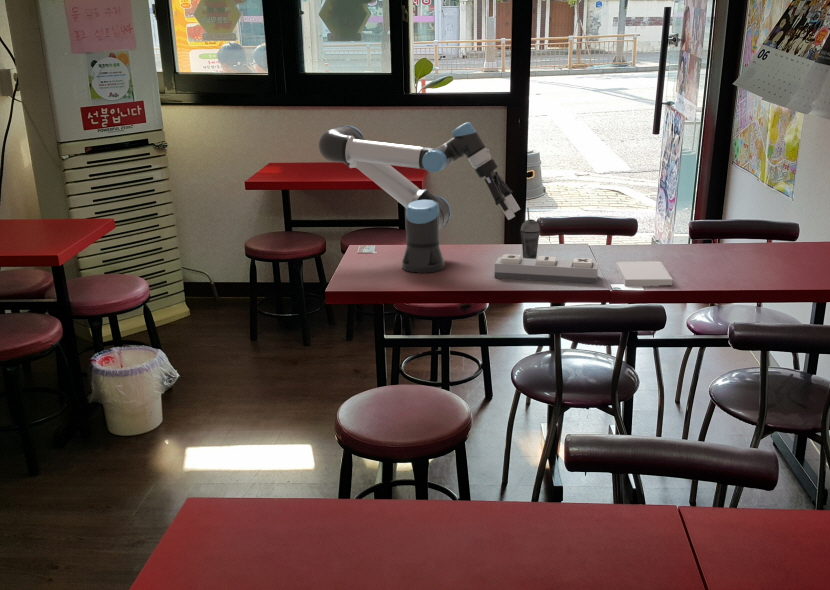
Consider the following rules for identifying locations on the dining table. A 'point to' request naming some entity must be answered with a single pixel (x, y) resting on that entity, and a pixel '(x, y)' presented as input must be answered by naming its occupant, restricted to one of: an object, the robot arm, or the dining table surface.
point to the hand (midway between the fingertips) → (514, 214)
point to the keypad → (546, 271)
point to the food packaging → (643, 274)
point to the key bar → (546, 261)
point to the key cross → (582, 262)
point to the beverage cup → (530, 238)
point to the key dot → (511, 259)
